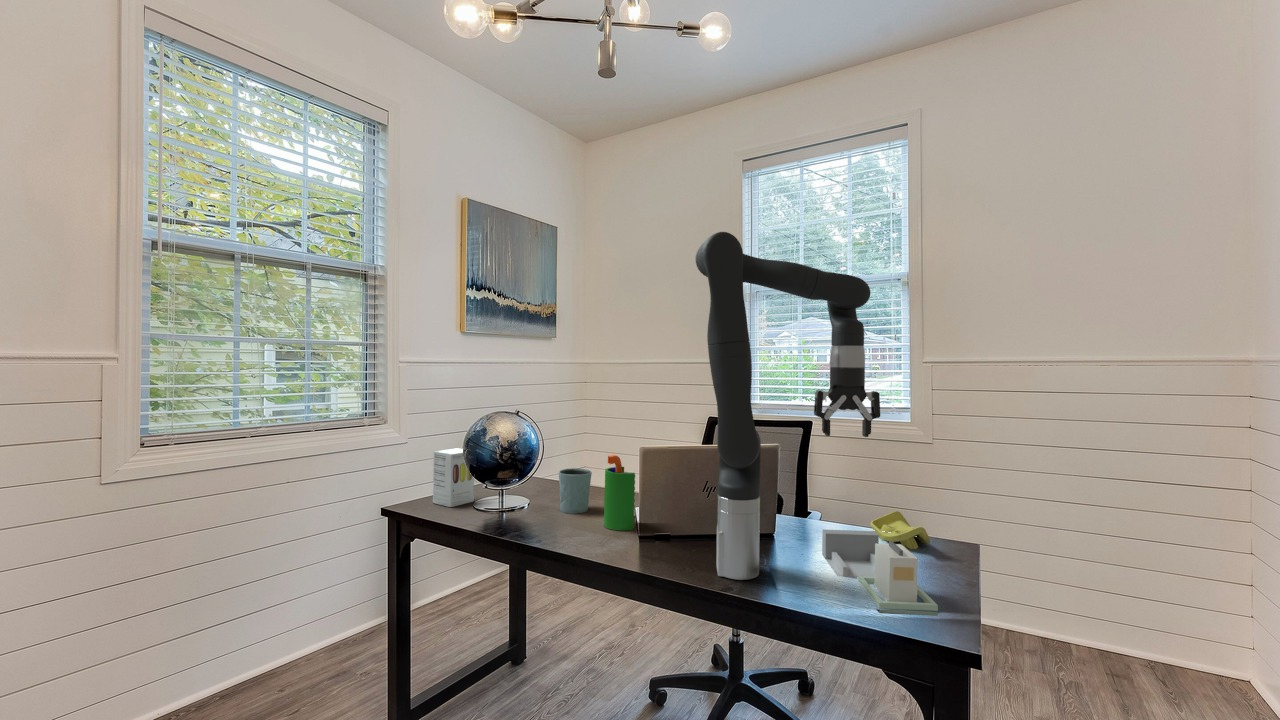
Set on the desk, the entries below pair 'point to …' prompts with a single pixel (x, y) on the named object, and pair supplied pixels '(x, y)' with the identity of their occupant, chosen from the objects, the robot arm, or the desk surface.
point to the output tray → (927, 605)
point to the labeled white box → (896, 572)
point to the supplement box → (451, 479)
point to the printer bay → (852, 566)
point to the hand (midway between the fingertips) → (846, 436)
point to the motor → (619, 497)
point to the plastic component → (899, 530)
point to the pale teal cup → (574, 490)
